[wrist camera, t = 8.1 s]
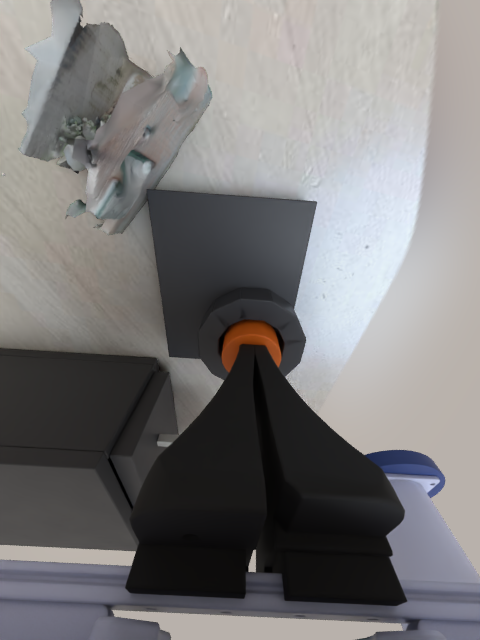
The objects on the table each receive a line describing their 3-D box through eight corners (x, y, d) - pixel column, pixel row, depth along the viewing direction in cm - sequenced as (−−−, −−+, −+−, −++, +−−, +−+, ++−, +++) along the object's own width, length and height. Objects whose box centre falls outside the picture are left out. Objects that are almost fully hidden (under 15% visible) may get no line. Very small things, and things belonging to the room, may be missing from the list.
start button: (273, 362, 13) (276, 382, 12) (223, 359, 13) (220, 379, 12) (280, 319, 12) (286, 336, 10) (225, 315, 12) (222, 332, 10)
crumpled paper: (221, 106, 9) (179, -71, 3) (132, 239, 12) (24, 272, 6) (140, 1, 8) (-193, -646, 2) (61, 179, 11) (-169, 147, 5)
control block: (284, 354, 16) (293, 389, 13) (177, 347, 16) (161, 380, 13) (317, 202, 11) (344, 202, 8) (159, 191, 11) (127, 185, 8)
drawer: (222, 375, 16) (211, 461, 11) (219, 453, 22) (211, 536, 16) (-3, 361, 16) (-131, 442, 11) (53, 443, 22) (-12, 524, 16)
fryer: (157, 357, 17) (94, 469, 10) (172, 445, 23) (140, 551, 16) (-24, 346, 17) (-223, 451, 9) (41, 437, 23) (-51, 542, 16)
